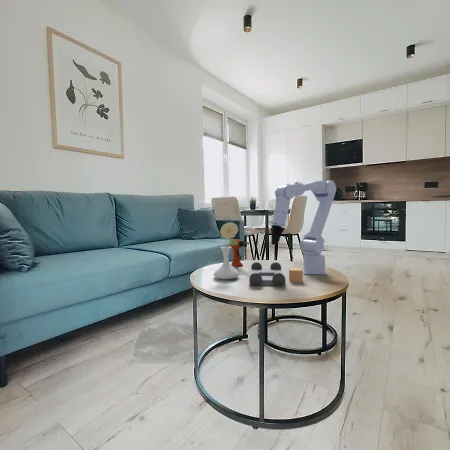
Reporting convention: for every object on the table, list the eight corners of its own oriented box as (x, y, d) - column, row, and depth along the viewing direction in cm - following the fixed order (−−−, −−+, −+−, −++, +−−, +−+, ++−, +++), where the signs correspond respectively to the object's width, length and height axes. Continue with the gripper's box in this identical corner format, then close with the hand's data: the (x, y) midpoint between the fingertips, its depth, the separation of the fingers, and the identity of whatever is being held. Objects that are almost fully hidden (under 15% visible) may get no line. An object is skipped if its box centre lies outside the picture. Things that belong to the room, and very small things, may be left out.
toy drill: (246, 268, 135) (243, 237, 136) (230, 266, 152) (227, 239, 153) (254, 267, 137) (252, 237, 138) (238, 265, 154) (235, 238, 155)
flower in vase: (208, 278, 122) (206, 222, 121) (225, 273, 131) (224, 221, 129) (230, 283, 114) (229, 222, 112) (247, 278, 122) (246, 221, 121)
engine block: (301, 279, 117) (301, 268, 117) (302, 282, 113) (302, 270, 113) (289, 279, 118) (289, 268, 118) (290, 282, 114) (290, 270, 113)
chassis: (281, 272, 131) (280, 262, 131) (285, 286, 107) (285, 273, 107) (251, 272, 133) (251, 262, 132) (249, 286, 109) (249, 273, 109)
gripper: (270, 213, 125) (264, 243, 124) (272, 208, 111) (265, 241, 110) (286, 216, 124) (280, 246, 123) (289, 211, 110) (283, 244, 109)
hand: (274, 244), depth 116 cm, fingers open, 7 cm apart
